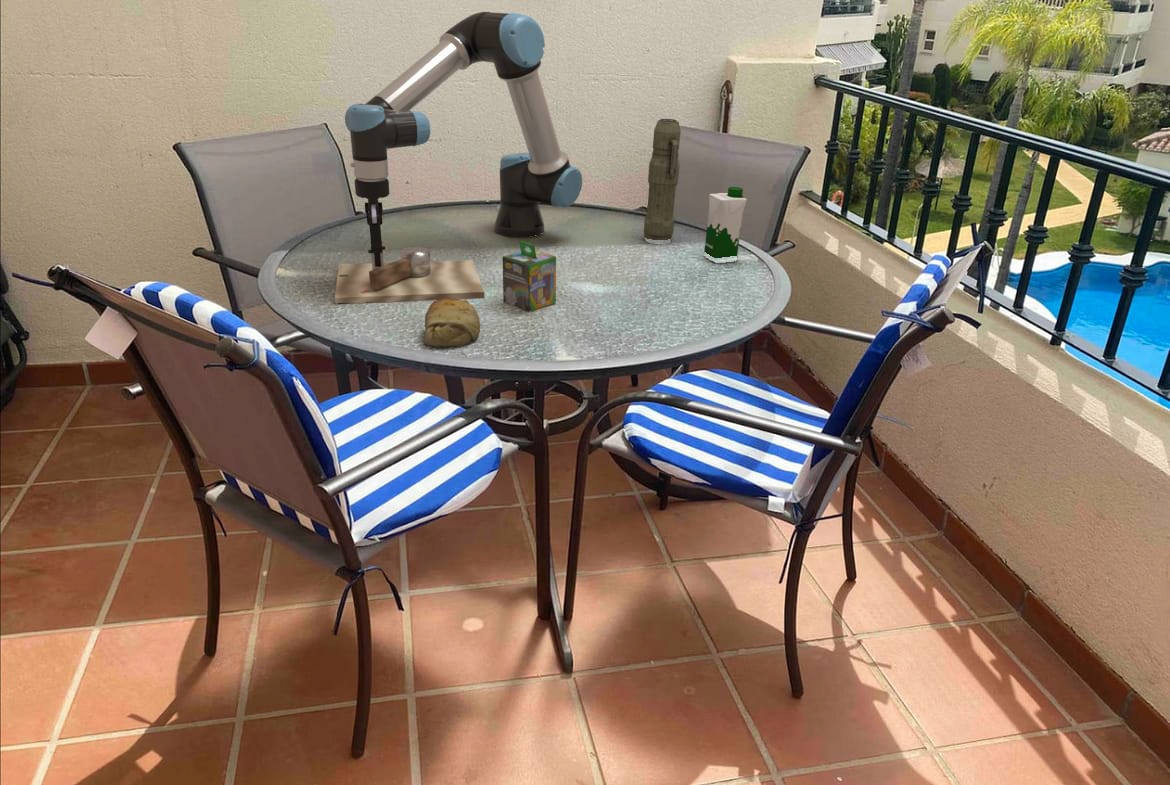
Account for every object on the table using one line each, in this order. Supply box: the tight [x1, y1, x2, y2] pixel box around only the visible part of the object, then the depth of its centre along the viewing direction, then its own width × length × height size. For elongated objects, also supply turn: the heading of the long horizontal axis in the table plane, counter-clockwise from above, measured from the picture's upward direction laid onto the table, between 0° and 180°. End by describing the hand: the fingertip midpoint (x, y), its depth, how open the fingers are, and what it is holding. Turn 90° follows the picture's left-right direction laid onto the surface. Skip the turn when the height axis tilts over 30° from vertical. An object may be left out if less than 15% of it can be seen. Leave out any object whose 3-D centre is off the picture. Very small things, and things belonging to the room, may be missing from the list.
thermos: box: [643, 118, 682, 240], centre depth 230 cm, size 9×12×35 cm
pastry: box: [423, 298, 481, 348], centre depth 163 cm, size 14×12×8 cm
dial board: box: [334, 259, 485, 304], centre depth 193 cm, size 34×25×2 cm
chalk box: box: [502, 240, 557, 313], centre depth 182 cm, size 9×9×15 cm
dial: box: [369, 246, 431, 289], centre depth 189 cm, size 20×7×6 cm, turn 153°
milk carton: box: [703, 186, 748, 258], centre depth 218 cm, size 9×9×20 cm
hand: (379, 277), depth 187 cm, fingers closed
